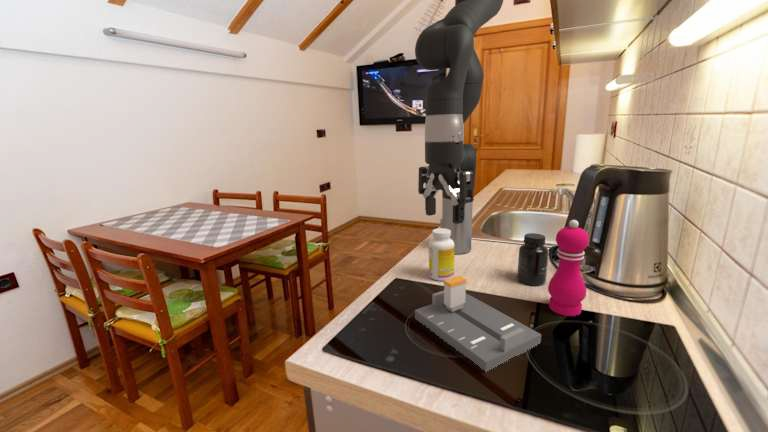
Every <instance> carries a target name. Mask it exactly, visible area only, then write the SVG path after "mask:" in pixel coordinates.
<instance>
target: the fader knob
mask: <svg viewBox="0 0 768 432" xmlns="http://www.w3.org/2000/svg"><path fill="white" fill-rule="evenodd" d="M466 283H467V278H465V277H464V276H461V275H457V276H455V275H454V277H452V278H449V279H446V280H444V281H443V286H444V287H443V288H444V289H443V290H444V304H445V305H446V308H447V309H449V310H450V311H452V312H454V311H456V310H459V309H461V308H463V303H465V293H467V292H466V290H467V289H466V288H467V287H466Z"/></svg>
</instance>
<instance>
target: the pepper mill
mask: <svg viewBox="0 0 768 432" xmlns="http://www.w3.org/2000/svg"><path fill="white" fill-rule="evenodd" d="M579 225H580V224H579V221H578V220H576V219H572V220H569V222H568V226H566V227H562V228H561V229H560V230H558V231H557V233H556V236H555V242H556V244H557V246H558V247H557V250H556V251H557V253H556V255H557V257H558V260H559V261H558V267H557V269H556V271H555V273H554V274H553V276H552V277H551V278H550V280H549V283H548V287H547V292H548V294H549V296H551V297H550V298H549V301H548V307H549V309H550V310H551V311H552V312H553V313H555V314H558V315H562V316H565V317H577V316H580V315H581V313H582V309H583V303H582V302H583V301H584V300H585V299H586V297H587V288H586V287H587V286H586V283H585V281H584V279H583V276H582V272H581V264H582V260H584V259H585V254H586V253H585V249H587V247H588V246H589V244H590V243H589V242H590V238H589V235H588V233H587V231H585V230H584V229H583V228H581V227H579ZM576 315H577V316H576Z"/></svg>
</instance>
